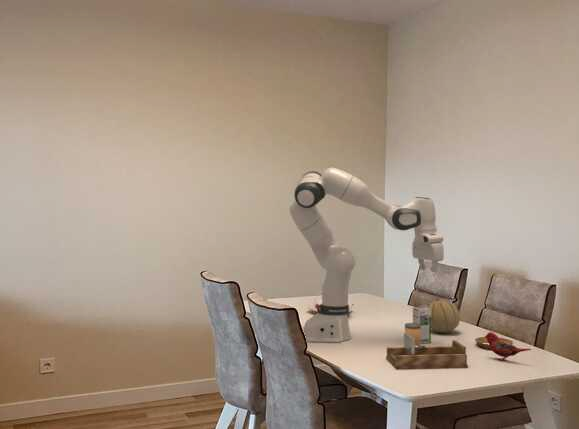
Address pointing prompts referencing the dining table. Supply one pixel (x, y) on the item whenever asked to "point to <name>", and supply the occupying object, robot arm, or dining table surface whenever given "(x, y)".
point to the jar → (414, 331)
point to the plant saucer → (484, 340)
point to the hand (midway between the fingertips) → (428, 270)
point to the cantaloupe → (444, 316)
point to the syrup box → (423, 322)
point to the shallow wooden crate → (429, 357)
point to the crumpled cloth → (319, 301)
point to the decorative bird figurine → (502, 347)
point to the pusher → (410, 345)
